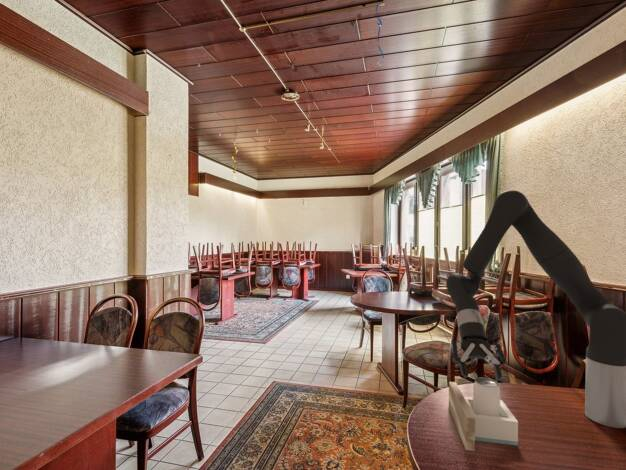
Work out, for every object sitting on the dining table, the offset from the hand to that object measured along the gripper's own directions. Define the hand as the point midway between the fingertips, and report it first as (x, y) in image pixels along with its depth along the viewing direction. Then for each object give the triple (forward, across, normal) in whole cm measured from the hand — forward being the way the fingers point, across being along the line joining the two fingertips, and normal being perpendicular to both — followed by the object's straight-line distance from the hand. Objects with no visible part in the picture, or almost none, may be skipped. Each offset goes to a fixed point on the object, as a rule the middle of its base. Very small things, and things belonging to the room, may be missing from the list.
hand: (482, 378), depth 94 cm
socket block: (+12, 0, +5) cm, 13 cm away
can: (+11, 0, +5) cm, 12 cm away
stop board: (+12, -7, +5) cm, 15 cm away
